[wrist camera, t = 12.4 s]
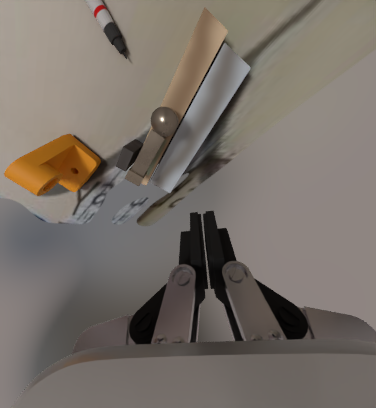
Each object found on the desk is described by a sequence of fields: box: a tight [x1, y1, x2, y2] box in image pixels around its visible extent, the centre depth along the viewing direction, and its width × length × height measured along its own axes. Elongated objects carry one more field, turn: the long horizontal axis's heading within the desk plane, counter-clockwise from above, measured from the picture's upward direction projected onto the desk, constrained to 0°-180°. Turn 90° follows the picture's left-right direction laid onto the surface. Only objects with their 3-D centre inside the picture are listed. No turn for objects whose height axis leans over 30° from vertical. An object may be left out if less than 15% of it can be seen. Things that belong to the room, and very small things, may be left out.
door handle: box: [125, 107, 178, 186], centre depth 27 cm, size 14×4×4 cm, turn 145°
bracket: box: [4, 134, 101, 196], centre depth 29 cm, size 11×7×12 cm, turn 132°
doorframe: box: [116, 8, 251, 193], centre depth 27 cm, size 12×28×7 cm, turn 148°
